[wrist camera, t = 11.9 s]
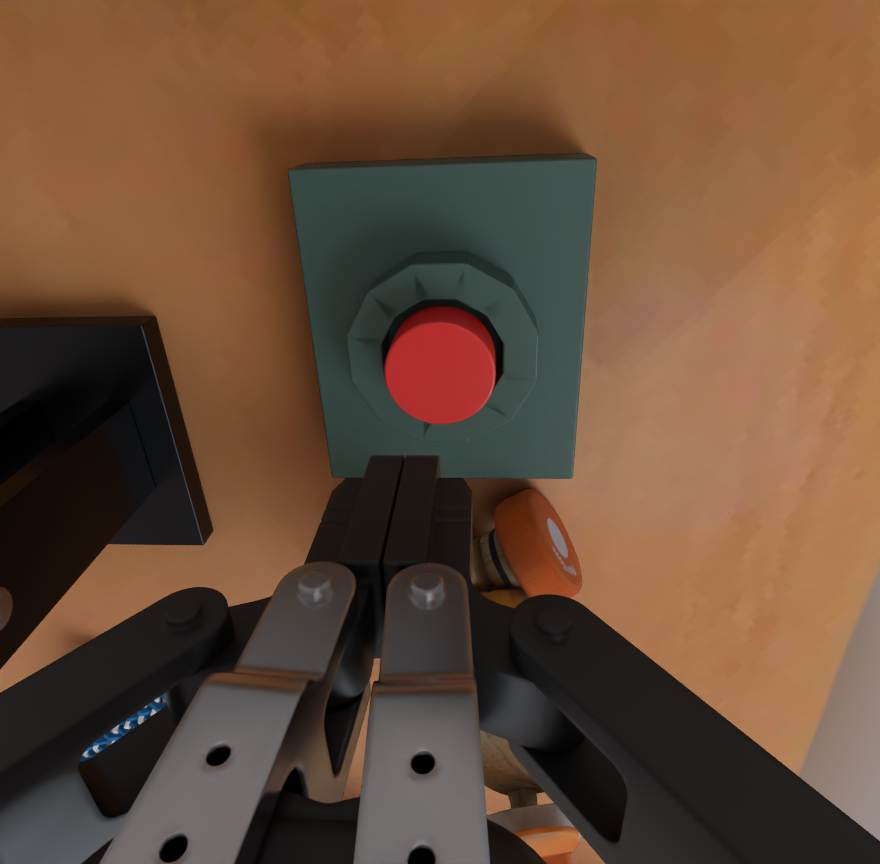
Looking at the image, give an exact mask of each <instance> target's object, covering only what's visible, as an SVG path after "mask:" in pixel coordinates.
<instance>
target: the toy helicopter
mask: <svg viewBox="0 0 880 864" xmlns="http://www.w3.org/2000/svg"><path fill="white" fill-rule="evenodd" d="M495 527H496V529H493V530H492V531H491V532H489V533H487V534H485V535H484V536H483V537H476V538H473V559H472V583H473V585H474V586H475V588H476V589H477V590H478V591H479V592H480V593H481V594H482V595H483V596H485V597H486V598H488V599H490V600H492V601H494V602H496V603H499V604H502V605H505V606H509V607H512V608H515V607H516V606H517V605H518V604H519V603H521V602H522V601H524V600H526V599H528V598H530V597H533V596H537V595H543V594H553V595H560V596H565V597H568V598H571V597H573V596H575V595H576V594H578V592H579V591H580V590H581V586H582V575H581V569H580V563H579V560H578V557H577V554H576V552H575V549H574V547H573V544H572V542H571V540H570V538H569V536H568V533H567V531H566V529H565V527H564V525H563V523H562V521H561V519H560V518H559V516H558V514H557V513H556V511H555V510H554V508H553V507H552V506H551V504H550V503H549V502H548V501H547V499H546V498H545V497H544V496H543V495H542V494H540V493H539V492H538V491H536V490H533V489H528V490H524V491H522V492H520V493H518V494H516V495H514V496H512V497H509V498H507V499H505V500H504V501H502V502H501V503H499V504H498V506H497V508H496V511H495ZM480 738H481V751H482V764H483V778H484V785H485V786H487V787H488V788H490V789H492V790H494V791H496V792H499V793H501V794H505V795H508V797H509V800H510V804H511V809H508V810H504V811H500V812H498V813H495V814H491V815H487V816H486V817H487V819H489V820H491V821H493V822H495V823H497V824H499V825H501V826H503V827H505V828H506V829H508V830H509V831H511V832H512V833H514V834H515V835H517V836H518V837H520V838H521V839H522V840H523V841H524V842H526V843H527V844H528V845H529V846H530V847H532V848H533V849H534V850H535V851H536V852H537V853H538V854H539V855H540V856H541V858H542V859H543V860H544V861H545V862H546V863H547V864H571V855H570V853H571V851H573V850H575V849H576V847H577V843H578V840H579V838H580V836H581V834H580V833H579V832H578V831H577V829H576V828H575V827H574V826H573V825H572V823H571V822H570V821H569V820H568V819H567V818H566V816H565V815H564V814H563V813H562V812H561V811H560V809H559V808H558V807H557V806H556V805H555V803H552V804H544V805H538V804H537V795H536V794H537V793H542V792H544V791H543V789H542V788H541V787H540V786H539V785H538V784H537V782H536V781H535V780H534V779H533V778H532V776H531V775H530V774H529V773H528V772H527V771H526V769H525V768H524V767H523V766H522V765H521V764H520V762H519V761H518V760H517V759H516V758H515V756H514V755H513V753H512V752H511V750H510V747H509V744H508V741H507V740H506V739H503V738H501V737H498V736H495V735H492V734H490V733H487V732H484V731H482V730H480Z"/></svg>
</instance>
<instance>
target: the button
mask: <svg viewBox="0 0 880 864" xmlns="http://www.w3.org/2000/svg"><path fill="white" fill-rule="evenodd" d="M384 373H385V381H386V385H387V388H388V390H389V392H390V395H391V396H392V398H393V399H394V401H395V402H396V403H397V404H398V406H399V407H400V408H401V409H403V410H404V411H405V412H406V413H408V414H409V415H411V416H412V417H414V418H416V419H419V420H421V421H424V422H428V423H433V424H450V423H455V422H459V421H462V420H464V419H466V418H469V417H470V416H472V415H473V414H475V413H476V412H477V411H479V410H480V409H481V408H482V407H483V406H484V405H485V403H486V402H487V401H488V399H489V397H490V396H491V394H492V391H493V388H494V385H495V379H496V364H495V348H494V343H493V341H492V338H491V336H490V334H489V332H488V330H487V329H486V327H485V326H484V325H483V324H482V323H481V322H480V320H478V319H477V318H476V317H475V316H473V315H472V314H470V313H468V312H466V311H464V310H462V309H459V308H456V307H451V306H433V307H428V308H425V309H422V310H420V311H418V312H416V313H414V314H412V315H411V316H410V317H408V318H407V319H406V320H405V321H404V322H403V323H402V324H401V326H400V327H399V329H398V330H397V332H396V334H395V336H394V339H393V341H392V344H391V346H390V349H389V351H388V354H387V357H386V361H385V368H384Z"/></svg>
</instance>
